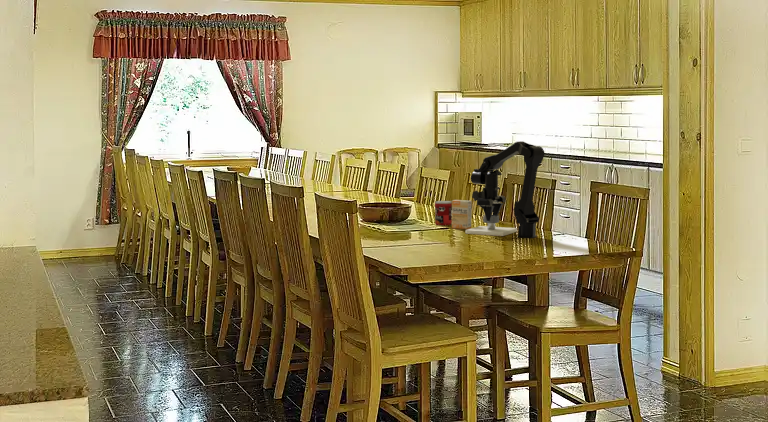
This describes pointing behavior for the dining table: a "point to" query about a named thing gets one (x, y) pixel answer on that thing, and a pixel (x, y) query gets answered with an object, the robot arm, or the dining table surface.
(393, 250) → the dining table surface
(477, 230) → the base plate
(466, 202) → the supplement box
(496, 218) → the gunmetal ring
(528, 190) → the robot arm
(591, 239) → the dining table surface
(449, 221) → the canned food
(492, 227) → the steel pin
